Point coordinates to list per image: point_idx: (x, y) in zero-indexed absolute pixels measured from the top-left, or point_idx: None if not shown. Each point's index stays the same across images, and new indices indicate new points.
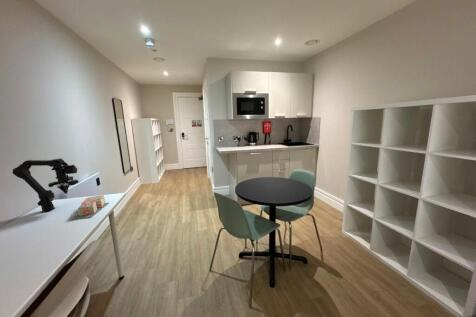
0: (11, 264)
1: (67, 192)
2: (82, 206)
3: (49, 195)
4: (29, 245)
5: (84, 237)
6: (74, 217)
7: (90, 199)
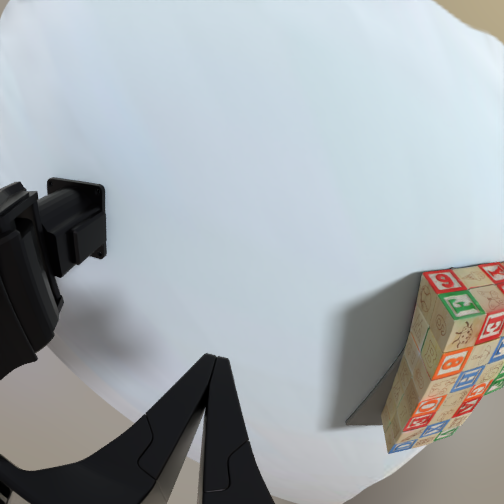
0: (274, 492)
1: (230, 367)
2: (410, 441)
3: (23, 345)
4: (268, 476)
5: (392, 471)
6: (357, 417)
7: (472, 369)
